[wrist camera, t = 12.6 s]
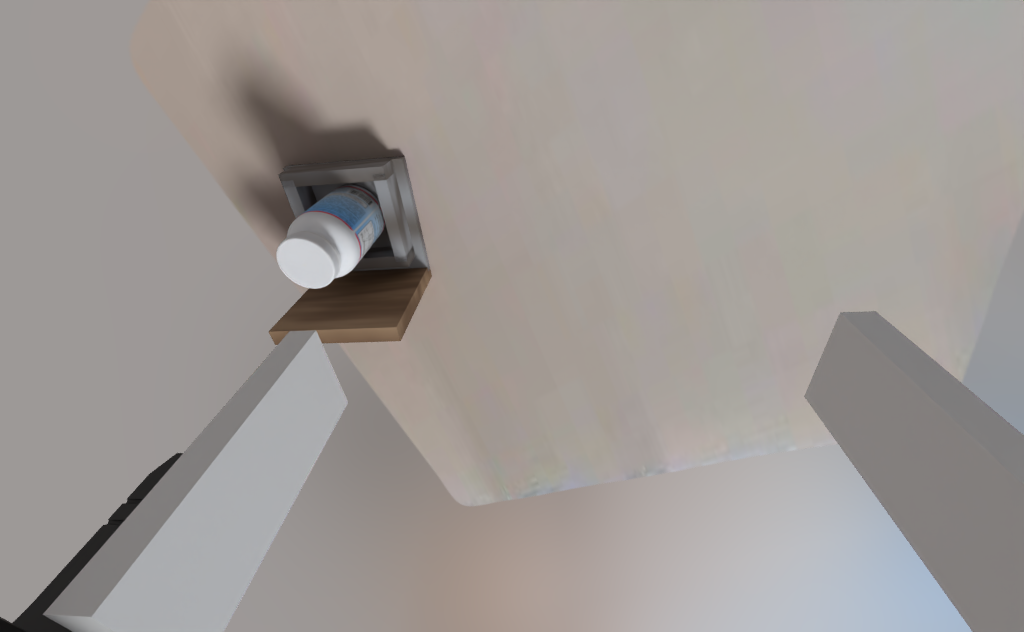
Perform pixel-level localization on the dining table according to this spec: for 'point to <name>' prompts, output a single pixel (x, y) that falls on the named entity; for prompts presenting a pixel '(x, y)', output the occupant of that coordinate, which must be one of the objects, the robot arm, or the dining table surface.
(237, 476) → the robot arm
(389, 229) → the cup bracket
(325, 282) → the pill bottle
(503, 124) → the dining table surface
